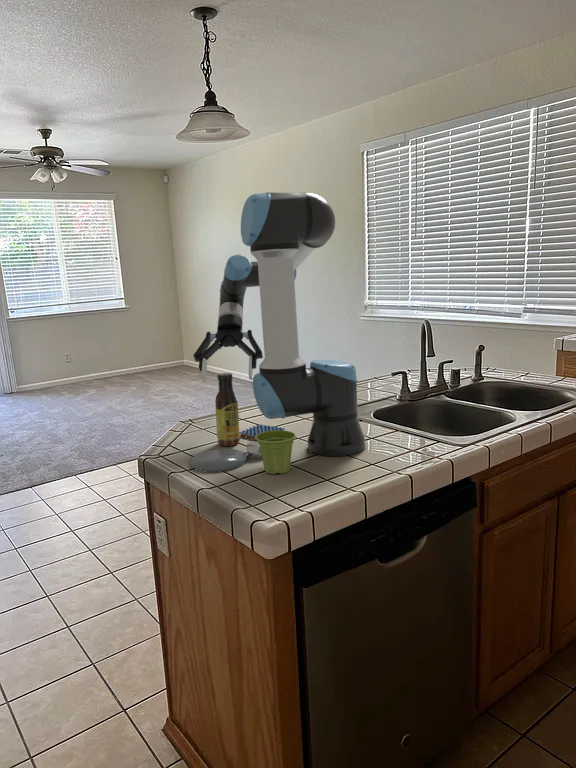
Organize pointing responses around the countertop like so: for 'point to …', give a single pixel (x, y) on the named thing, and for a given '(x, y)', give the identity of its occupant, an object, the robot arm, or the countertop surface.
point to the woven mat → (257, 431)
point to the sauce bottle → (227, 412)
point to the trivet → (218, 460)
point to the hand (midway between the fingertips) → (226, 378)
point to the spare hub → (253, 450)
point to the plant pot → (276, 450)
